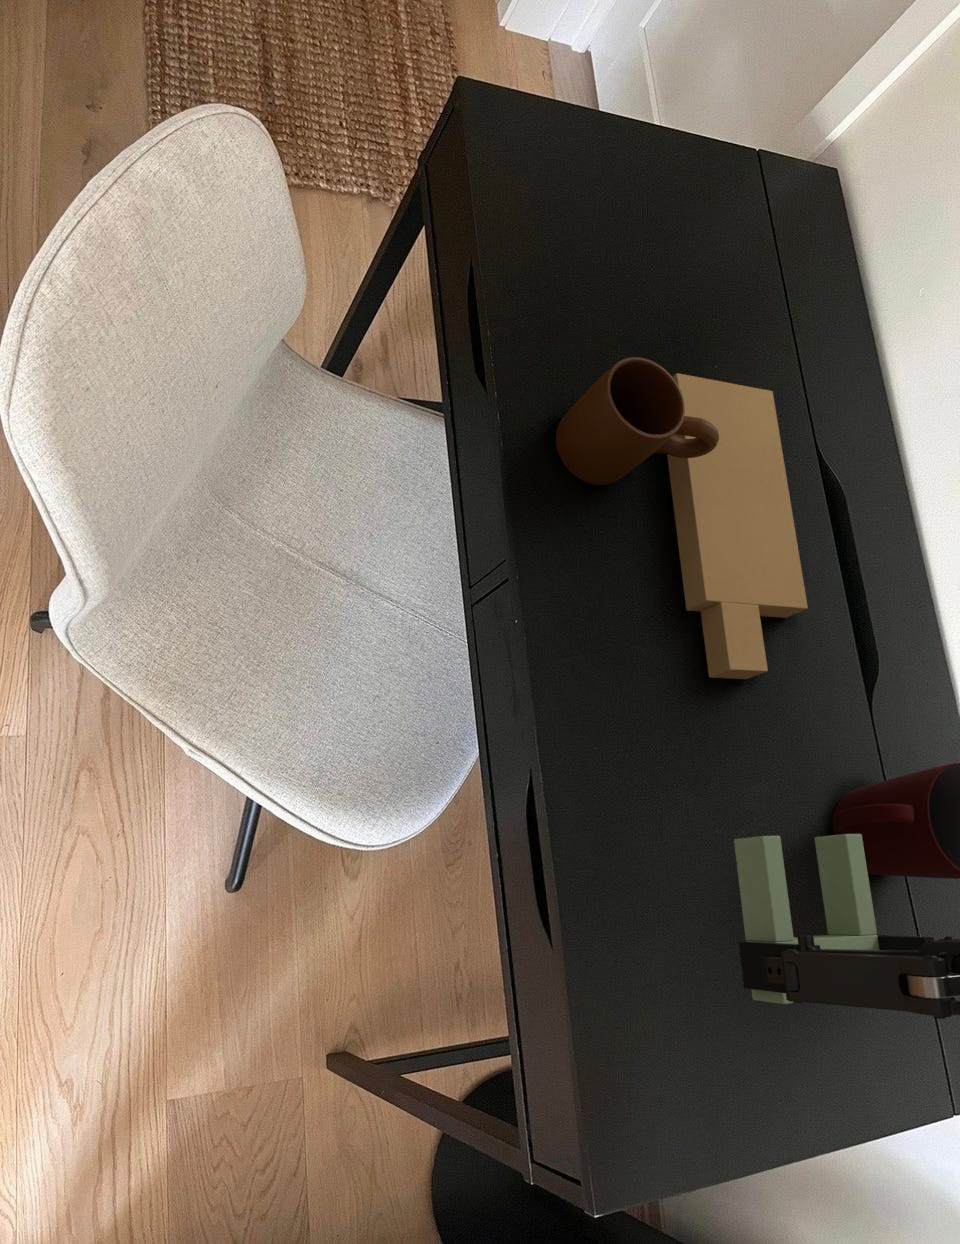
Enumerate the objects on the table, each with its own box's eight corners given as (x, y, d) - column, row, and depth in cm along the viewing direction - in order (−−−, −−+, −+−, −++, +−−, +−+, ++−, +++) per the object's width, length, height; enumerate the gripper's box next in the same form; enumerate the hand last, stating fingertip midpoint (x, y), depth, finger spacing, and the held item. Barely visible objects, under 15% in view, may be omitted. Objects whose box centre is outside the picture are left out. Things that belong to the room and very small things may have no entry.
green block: (852, 989, 61) (886, 993, 58) (752, 999, 58) (783, 1004, 55) (830, 836, 63) (862, 833, 61) (733, 839, 60) (762, 835, 58)
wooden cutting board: (694, 677, 80) (715, 668, 77) (658, 389, 88) (676, 372, 85) (795, 681, 84) (818, 673, 81) (752, 406, 92) (772, 390, 89)
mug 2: (799, 875, 78) (901, 870, 68) (793, 771, 81) (891, 751, 71) (908, 886, 82) (1019, 882, 72) (899, 786, 85) (1005, 770, 75)
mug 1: (672, 445, 86) (735, 395, 78) (663, 516, 83) (728, 472, 75) (559, 398, 83) (612, 340, 74) (546, 470, 80) (599, 419, 72)
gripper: (1286, 886, 44) (913, 893, 64) (966, 904, 37) (657, 906, 57) (1334, 1057, 42) (932, 1009, 62) (1004, 1114, 35) (669, 1038, 55)
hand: (801, 960), depth 60 cm, fingers closed on green block, 8 cm apart
